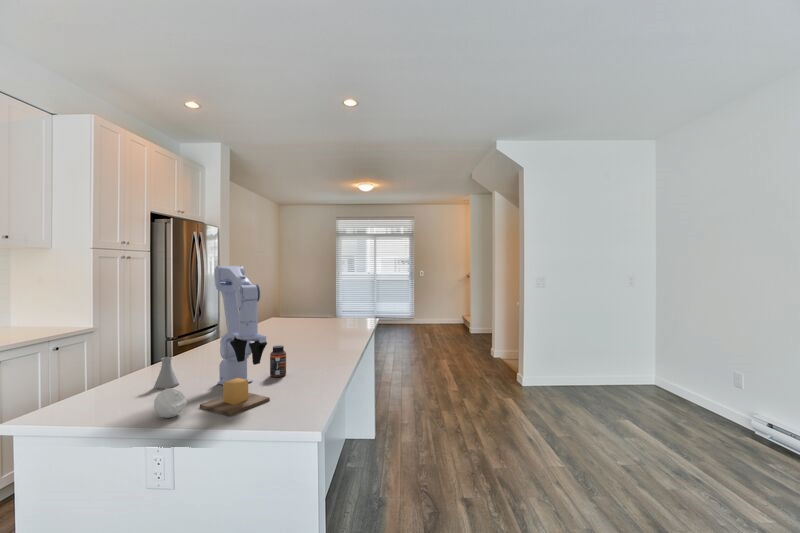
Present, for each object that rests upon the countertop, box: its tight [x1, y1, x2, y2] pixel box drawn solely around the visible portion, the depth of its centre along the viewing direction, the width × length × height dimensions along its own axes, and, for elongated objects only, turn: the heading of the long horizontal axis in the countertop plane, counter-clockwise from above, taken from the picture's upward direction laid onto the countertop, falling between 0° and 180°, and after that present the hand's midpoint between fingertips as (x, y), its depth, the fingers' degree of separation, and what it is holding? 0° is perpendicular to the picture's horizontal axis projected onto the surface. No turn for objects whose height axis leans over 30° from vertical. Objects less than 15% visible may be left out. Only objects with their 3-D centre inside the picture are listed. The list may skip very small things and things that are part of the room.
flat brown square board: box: [199, 392, 271, 417], centre depth 114 cm, size 14×14×4 cm
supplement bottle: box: [269, 344, 287, 378], centre depth 144 cm, size 6×6×11 cm
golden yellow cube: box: [222, 378, 249, 405], centre depth 114 cm, size 5×5×6 cm
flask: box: [153, 356, 180, 390], centre depth 132 cm, size 7×7×10 cm
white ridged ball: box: [153, 387, 188, 419], centre depth 105 cm, size 8×8×8 cm
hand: (248, 362), depth 123 cm, fingers open, 7 cm apart
